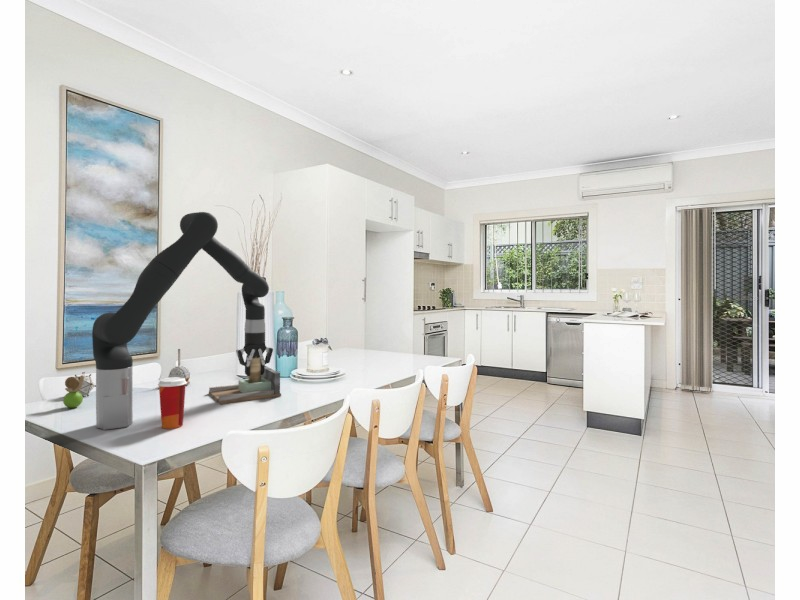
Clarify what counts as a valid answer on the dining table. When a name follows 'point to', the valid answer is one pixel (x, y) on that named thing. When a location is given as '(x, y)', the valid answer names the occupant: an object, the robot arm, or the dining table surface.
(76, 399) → the snail figurine
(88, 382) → the spiky polyhedron ball
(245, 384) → the green square tray
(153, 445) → the dining table surface
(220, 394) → the track
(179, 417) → the paper cup
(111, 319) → the robot arm
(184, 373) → the decorative ornament
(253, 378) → the dowel
